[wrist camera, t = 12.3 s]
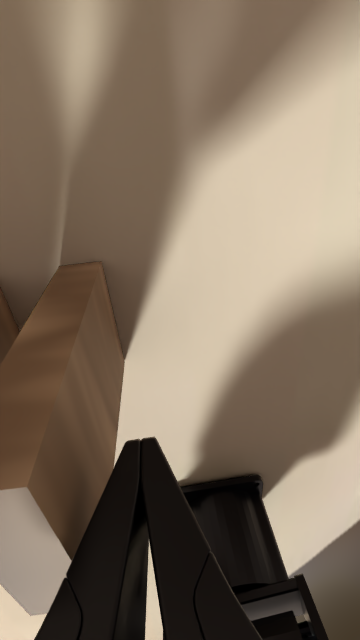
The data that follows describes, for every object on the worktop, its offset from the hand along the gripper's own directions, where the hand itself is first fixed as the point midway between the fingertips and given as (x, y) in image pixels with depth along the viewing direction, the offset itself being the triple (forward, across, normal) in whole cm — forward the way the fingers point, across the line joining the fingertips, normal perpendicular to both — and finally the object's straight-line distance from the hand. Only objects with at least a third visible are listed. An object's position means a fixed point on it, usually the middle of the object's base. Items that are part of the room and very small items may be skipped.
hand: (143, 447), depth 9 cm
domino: (+8, +2, 0) cm, 8 cm away
